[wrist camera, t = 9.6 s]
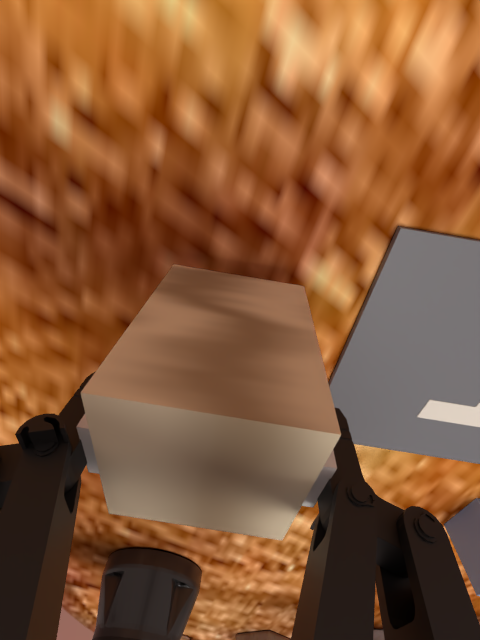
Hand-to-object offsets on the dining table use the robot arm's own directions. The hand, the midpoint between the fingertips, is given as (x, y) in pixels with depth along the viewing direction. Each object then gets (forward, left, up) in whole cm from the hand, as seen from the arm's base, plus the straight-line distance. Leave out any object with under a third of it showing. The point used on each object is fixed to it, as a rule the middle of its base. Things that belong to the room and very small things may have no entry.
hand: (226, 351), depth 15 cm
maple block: (0, 0, -2) cm, 2 cm away
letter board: (+20, -2, -4) cm, 21 cm away
